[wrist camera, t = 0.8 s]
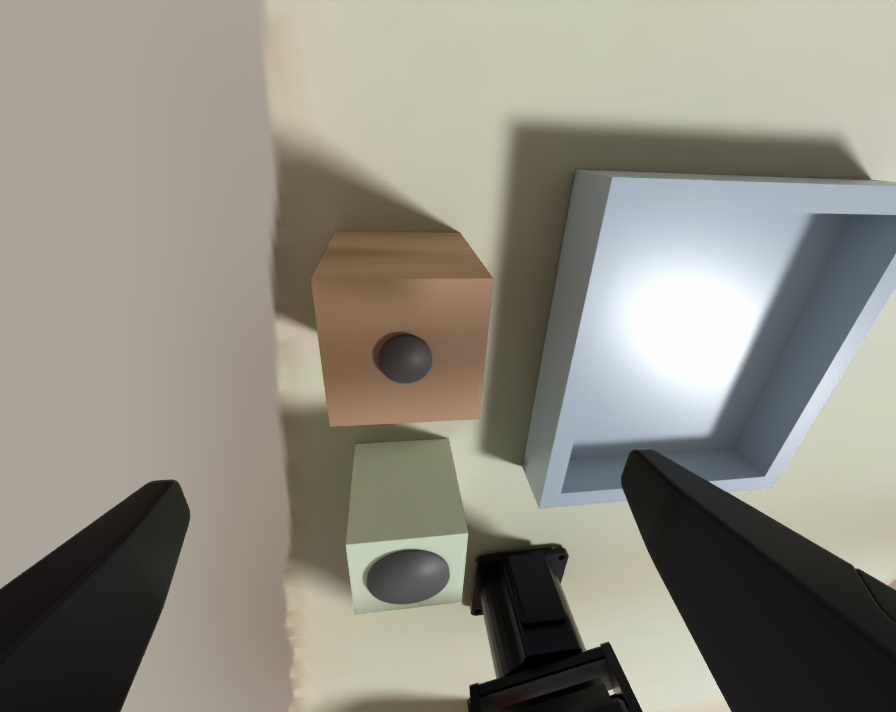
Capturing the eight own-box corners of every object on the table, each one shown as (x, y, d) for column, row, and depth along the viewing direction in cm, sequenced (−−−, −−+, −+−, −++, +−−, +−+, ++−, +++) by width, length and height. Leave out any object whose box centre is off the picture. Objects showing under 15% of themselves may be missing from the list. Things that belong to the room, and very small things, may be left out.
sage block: (445, 501, 24) (462, 606, 19) (361, 508, 24) (354, 619, 18) (448, 437, 22) (469, 537, 17) (355, 443, 21) (345, 549, 16)
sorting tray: (733, 451, 26) (772, 488, 23) (522, 466, 24) (539, 508, 21) (873, 179, 18) (956, 188, 15) (575, 169, 16) (612, 177, 13)
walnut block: (453, 340, 19) (480, 422, 14) (345, 342, 18) (329, 430, 13) (459, 232, 17) (495, 280, 11) (335, 230, 16) (309, 281, 10)
